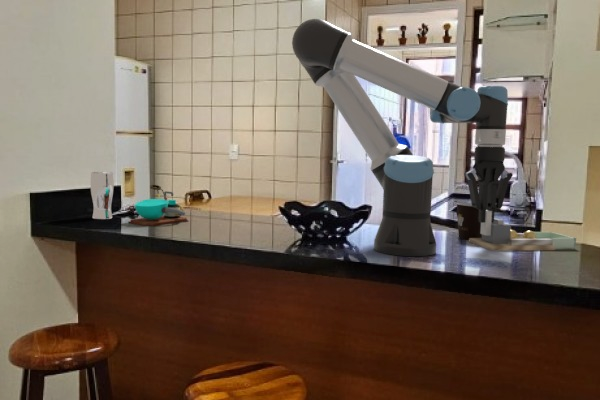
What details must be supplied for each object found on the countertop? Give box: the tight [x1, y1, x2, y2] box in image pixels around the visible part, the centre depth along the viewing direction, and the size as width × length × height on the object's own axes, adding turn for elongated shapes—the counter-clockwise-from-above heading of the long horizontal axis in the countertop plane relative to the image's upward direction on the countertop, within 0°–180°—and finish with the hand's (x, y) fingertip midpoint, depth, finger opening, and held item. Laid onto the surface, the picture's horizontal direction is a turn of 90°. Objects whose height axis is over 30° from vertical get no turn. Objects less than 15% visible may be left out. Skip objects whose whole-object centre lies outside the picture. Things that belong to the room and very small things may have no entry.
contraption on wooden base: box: [128, 184, 190, 227], centre depth 165 cm, size 14×18×15 cm
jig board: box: [468, 232, 556, 251], centre depth 143 cm, size 18×12×3 cm, turn 101°
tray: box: [533, 231, 577, 250], centre depth 145 cm, size 7×10×3 cm
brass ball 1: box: [510, 229, 518, 239], centre depth 144 cm, size 3×3×3 cm
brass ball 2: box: [523, 230, 536, 239], centre depth 143 cm, size 3×3×3 cm
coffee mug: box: [456, 202, 482, 241], centre depth 154 cm, size 12×9×10 cm
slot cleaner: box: [482, 217, 512, 244], centre depth 142 cm, size 5×6×6 cm
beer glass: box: [90, 171, 115, 220], centre depth 170 cm, size 7×7×15 cm
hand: (485, 234), depth 141 cm, fingers closed
